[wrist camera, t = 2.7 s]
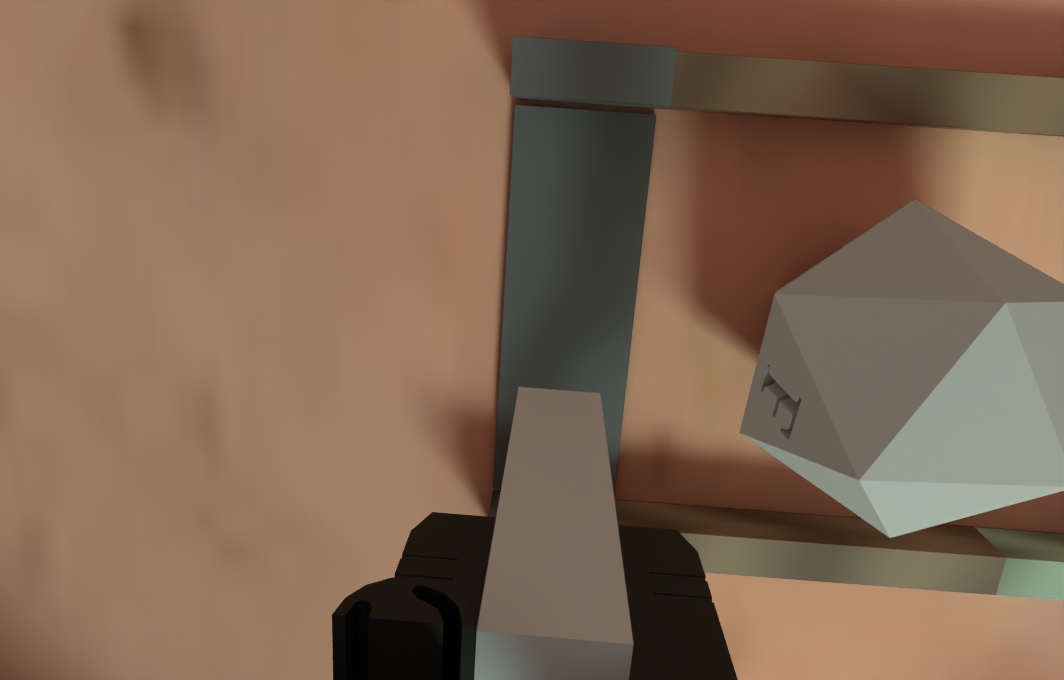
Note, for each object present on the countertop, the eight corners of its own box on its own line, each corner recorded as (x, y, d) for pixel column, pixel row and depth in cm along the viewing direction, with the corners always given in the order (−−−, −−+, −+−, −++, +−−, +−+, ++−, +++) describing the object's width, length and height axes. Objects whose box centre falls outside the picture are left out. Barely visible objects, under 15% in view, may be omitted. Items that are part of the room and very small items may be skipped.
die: (832, 144, 24) (715, 278, 17) (1162, 215, 20) (1178, 427, 13) (777, 347, 29) (671, 512, 22) (1030, 436, 25) (993, 668, 18)
